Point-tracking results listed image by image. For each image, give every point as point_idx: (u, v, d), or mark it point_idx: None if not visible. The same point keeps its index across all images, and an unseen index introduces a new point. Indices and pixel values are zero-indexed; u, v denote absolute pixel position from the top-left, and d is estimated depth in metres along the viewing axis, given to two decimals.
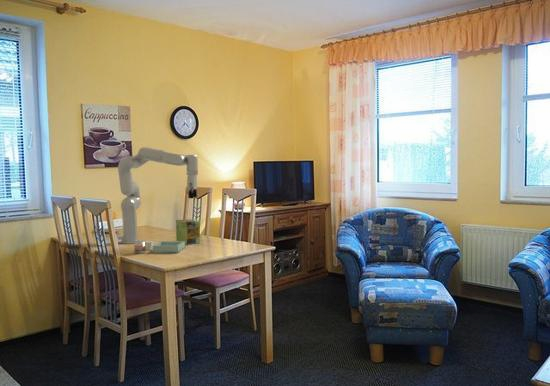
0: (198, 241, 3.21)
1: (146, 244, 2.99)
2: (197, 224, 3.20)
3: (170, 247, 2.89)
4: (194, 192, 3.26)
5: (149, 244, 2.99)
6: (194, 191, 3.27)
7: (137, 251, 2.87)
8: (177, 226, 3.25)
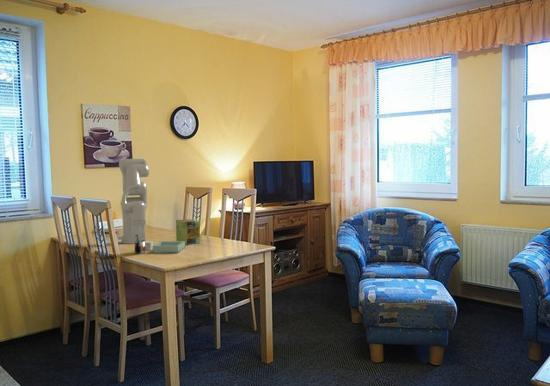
0: (198, 241, 3.21)
1: (146, 244, 2.99)
2: (197, 224, 3.20)
3: (170, 247, 2.89)
4: None
5: (149, 244, 2.99)
6: None
7: None
8: (177, 226, 3.25)
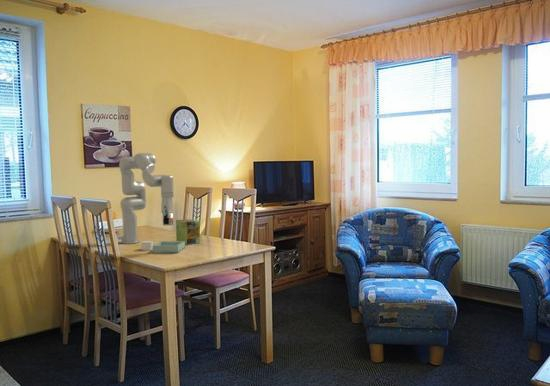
0: (198, 241, 3.21)
1: (146, 244, 2.99)
2: (197, 224, 3.20)
3: (170, 247, 2.89)
4: None
5: (149, 244, 2.99)
6: None
7: None
8: (177, 226, 3.25)
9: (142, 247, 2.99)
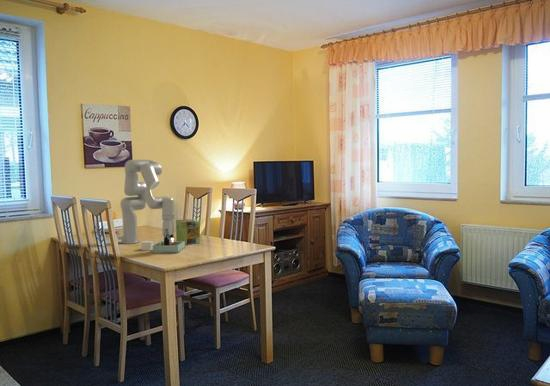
0: (198, 241, 3.21)
1: (146, 244, 2.99)
2: (197, 224, 3.20)
3: (170, 247, 2.89)
4: None
5: (149, 244, 2.99)
6: (171, 236, 3.01)
7: None
8: (177, 226, 3.25)
9: (142, 247, 2.99)
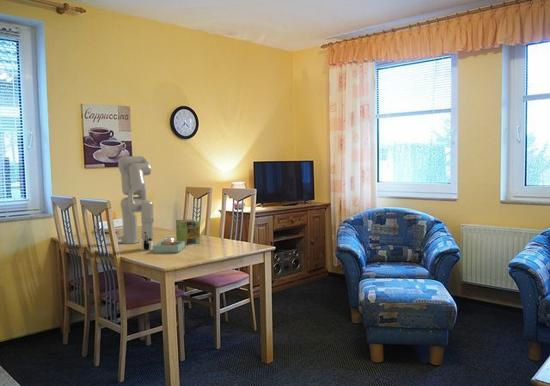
0: (198, 241, 3.21)
1: None
2: (197, 224, 3.20)
3: (170, 247, 2.89)
4: None
5: (149, 244, 2.99)
6: None
7: None
8: (177, 226, 3.25)
9: (142, 247, 2.99)
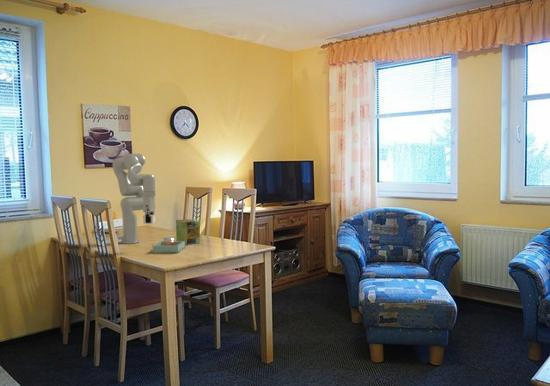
0: (198, 241, 3.21)
1: None
2: (197, 224, 3.20)
3: (170, 247, 2.89)
4: None
5: (151, 217, 2.97)
6: (151, 214, 3.03)
7: None
8: (177, 226, 3.25)
9: (144, 220, 2.97)
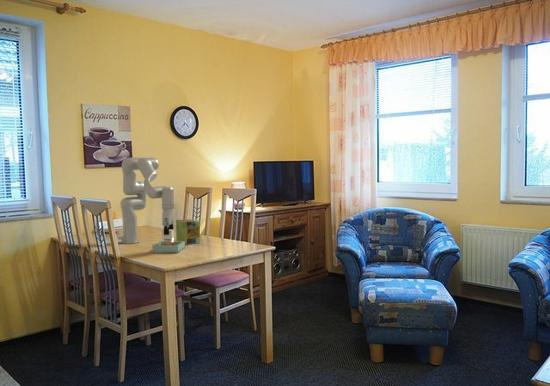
0: (198, 241, 3.21)
1: None
2: (197, 224, 3.20)
3: (170, 247, 2.89)
4: (170, 227, 3.01)
5: (169, 232, 2.93)
6: (170, 226, 3.01)
7: None
8: (177, 226, 3.25)
9: (163, 235, 2.94)
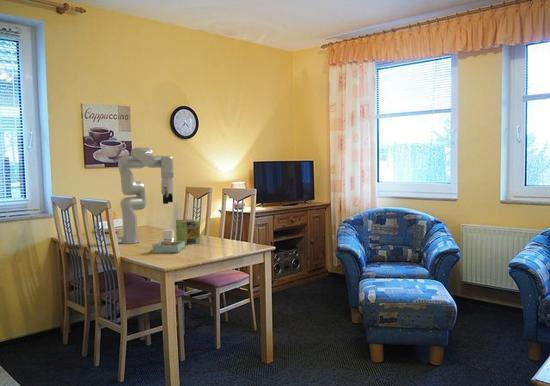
0: (198, 241, 3.21)
1: (167, 232, 2.93)
2: (197, 224, 3.20)
3: (170, 247, 2.89)
4: (170, 197, 2.99)
5: (170, 232, 2.93)
6: (170, 196, 2.99)
7: None
8: (177, 226, 3.25)
9: (163, 235, 2.94)
